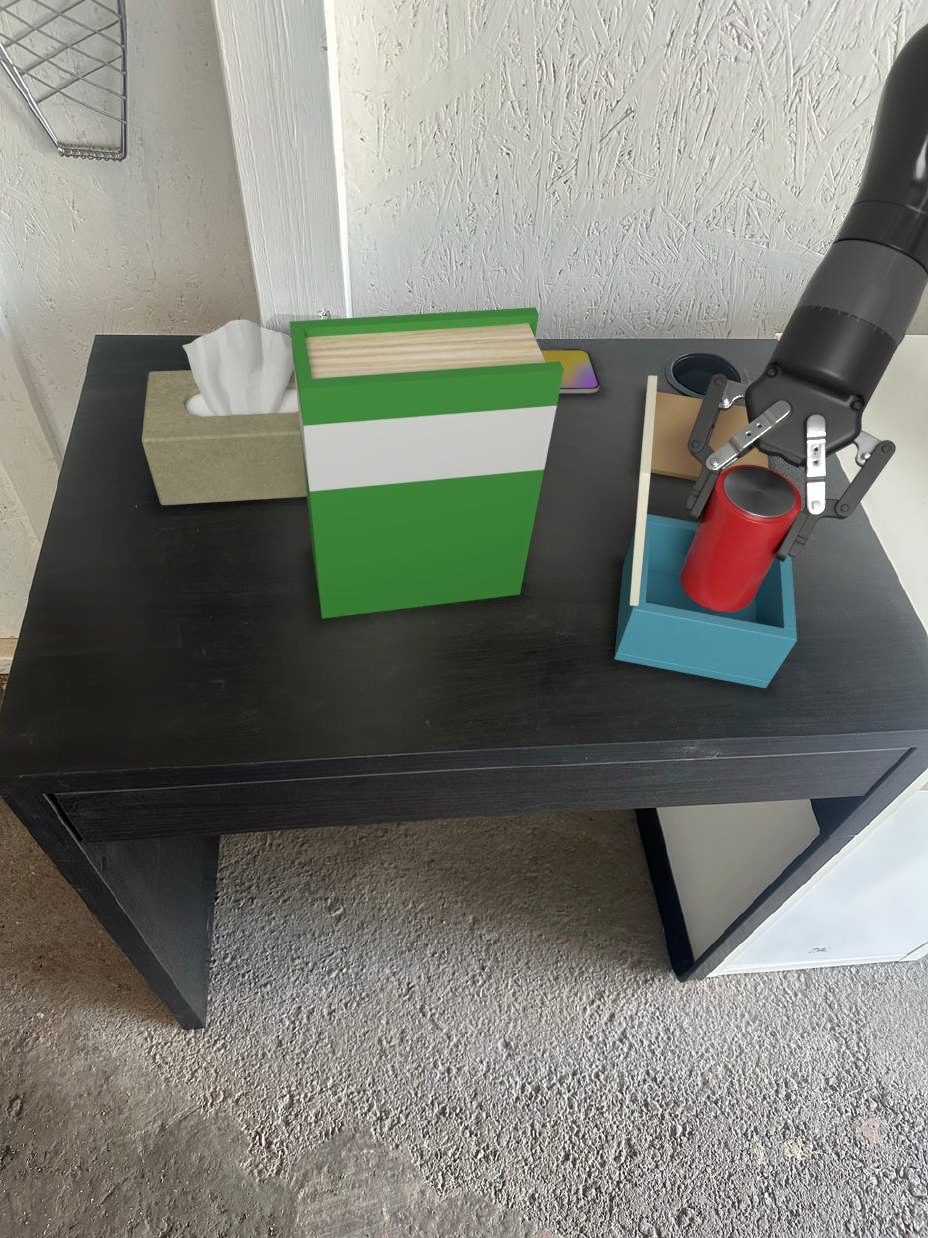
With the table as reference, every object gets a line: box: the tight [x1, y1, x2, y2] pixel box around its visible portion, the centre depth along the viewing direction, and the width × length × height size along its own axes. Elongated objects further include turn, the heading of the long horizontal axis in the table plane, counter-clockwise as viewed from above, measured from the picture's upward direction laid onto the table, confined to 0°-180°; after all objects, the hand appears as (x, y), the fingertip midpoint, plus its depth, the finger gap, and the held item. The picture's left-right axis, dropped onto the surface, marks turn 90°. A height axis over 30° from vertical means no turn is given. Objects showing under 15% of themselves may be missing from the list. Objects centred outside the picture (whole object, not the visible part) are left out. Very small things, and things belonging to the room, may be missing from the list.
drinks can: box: [680, 465, 802, 612], centre depth 66 cm, size 6×6×10 cm
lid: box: [630, 375, 658, 606], centre depth 65 cm, size 14×11×1 cm
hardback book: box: [289, 307, 564, 620], centre depth 68 cm, size 18×7×24 cm, turn 102°
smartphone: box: [540, 348, 601, 394], centre depth 96 cm, size 7×1×15 cm
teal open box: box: [613, 513, 798, 689], centre depth 73 cm, size 13×11×7 cm
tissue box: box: [141, 319, 307, 506], centre depth 78 cm, size 19×10×16 cm, turn 99°
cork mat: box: [651, 391, 769, 482], centre depth 91 cm, size 13×13×1 cm
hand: (736, 539), depth 64 cm, fingers closed on drinks can, 6 cm apart
